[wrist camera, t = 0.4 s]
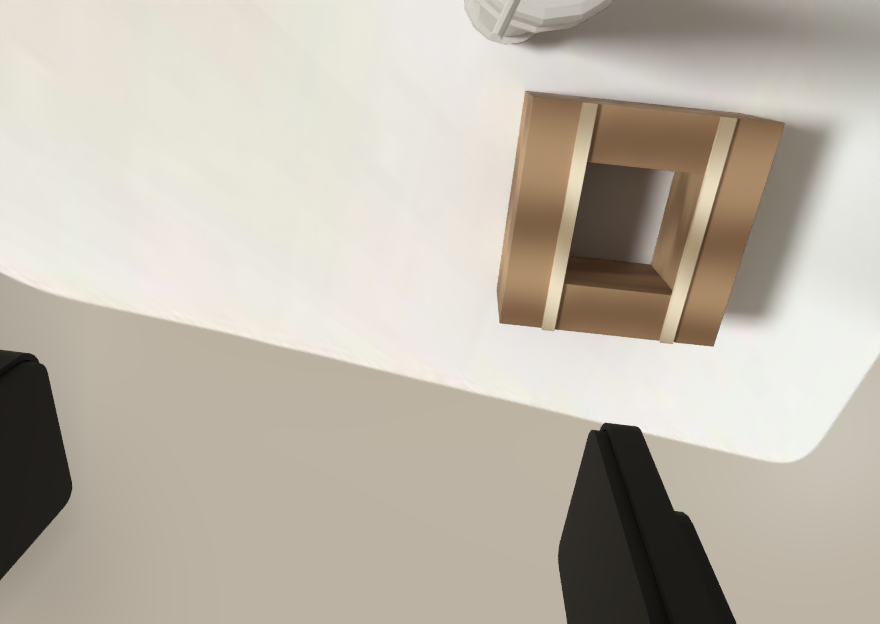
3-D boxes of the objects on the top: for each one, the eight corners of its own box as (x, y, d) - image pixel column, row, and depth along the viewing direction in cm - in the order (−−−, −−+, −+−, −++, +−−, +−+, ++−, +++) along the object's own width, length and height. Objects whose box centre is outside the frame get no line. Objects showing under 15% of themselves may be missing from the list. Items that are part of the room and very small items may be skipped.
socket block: (525, 91, 38) (534, 97, 32) (740, 113, 38) (787, 123, 32) (496, 289, 44) (499, 325, 38) (683, 309, 44) (715, 348, 38)
